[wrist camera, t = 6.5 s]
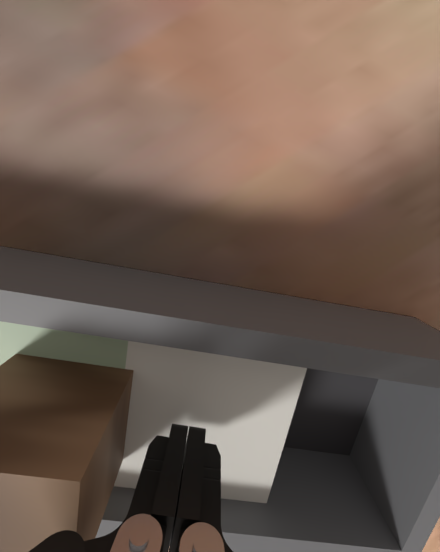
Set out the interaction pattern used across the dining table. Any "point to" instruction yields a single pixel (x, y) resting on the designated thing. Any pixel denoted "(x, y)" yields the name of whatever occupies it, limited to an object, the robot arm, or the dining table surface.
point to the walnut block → (58, 446)
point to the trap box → (253, 396)
